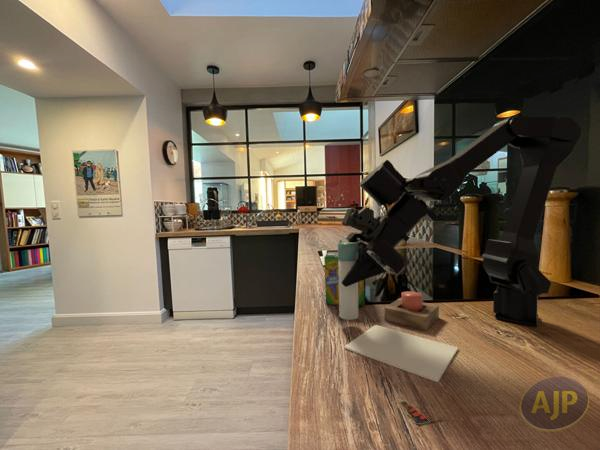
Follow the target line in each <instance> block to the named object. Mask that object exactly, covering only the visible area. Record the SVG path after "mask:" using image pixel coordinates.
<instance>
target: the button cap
mask: <svg viewBox="0 0 600 450" xmlns="http://www.w3.org/2000/svg"><path fill="white" fill-rule="evenodd" d="M400 298H401V308H402V309H407V310H411V311H416V312H421V311H422V310H423V302H424V299H423V298H424V294H422V293H421V292H417V291H408V290H407V291H402V292H401V297H400Z"/></svg>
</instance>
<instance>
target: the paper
mask: <svg viewBox="0 0 600 450" xmlns="http://www.w3.org/2000/svg"><path fill="white" fill-rule="evenodd" d="M343 348H344V349H345V350H348V351H350V352H353V353H356V354H358V355H361V356H363V357H366V358H369V359H373V360H375V361H376V362H377V361H378V362H380V363H383V364H386V365H388V366H392V367H394V368H397V369H399V370H402V371H405V372H408V373H411V374H413V375H416V376H419V377H422V378H425V379H427V380H430V381H433V382H435V383H439V381H440V380H441V378H442V376H443V374H444V373H445V372H446V370H447V368H448V367H449V365H450V363H451V361H452V360H453V358H454V357H455V355H456V353H457V352H458V350H459V348H458V346H453V345H451V344H447V343H443V342H440V341H436V340H433V339H429V338H425V337H421V336H418V335H414V334H411V333H410V334H409V333H407V332H403V331H400V330H396V329H392V328H389V327H385V326H382V325H378V324H375V325H373V326H372V327H370V328H369V329H368V330H366V331H365V332H363V333H362V334H360V335H359V336H357V337H356V338H354V339H353V340H351V341H350V342H348V343H347V344H346V345H344V347H343Z"/></svg>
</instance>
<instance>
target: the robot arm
mask: <svg viewBox="0 0 600 450" xmlns="http://www.w3.org/2000/svg"><path fill="white" fill-rule="evenodd" d="M581 133H582V128H581V126H580V124H579V123H578V122H577V121H576V120H574V119H573V118H571V117H570V116H569V117H568V116H562V117H561V116H560V117H555V116H543V117H542V116H535V117H531V116H525V115H512V116H510V117H507V118H505V119H502V120H500V121H497V122H496V123H494V125H493V126H492V128H489V130H487V131H486V132H484V133H483V134H481V136H479V137H478V138H477V139H475V140H473V141H472V142H471V143H469V144H468V145H467V146H465V148H463V149H462V150H460V151H459V152H457V154H455V155H454V156H452V157H451V158H450V159H448V160H446V161H444V162H441V163H440V164H438V165H435V166H433V167H430V168H428V169H426V170H425V171H422V172H421V173H418V174H417V175H415V176H414V177H410V178H405V177H404V176H403V175H402V174H401V173H400V172H399V171H398V170H397V169H396V168H395V167H394V165H393V164H392V162H391V161H390V160H388V159H386V160H384V161H382V162H381V163H380V164H379V165H378V166H377V167H375V168H374V169H373V170H372V171H371V172H369V173H368V174H367V175H365V177H364V178H363V179H362V180H361V181H360V182H359V186H360V187H361V188H362V189H363V190H364V191H365V193H367V194H368V196H370V197H371V198H372V199H373V200H374V202H376V204H378V206H383V205H386V206H387V207H390V206H391V207H390V208H389V209H388V210H387V211H386V212H385V213H384V214H383V215H379V216H378V215H377V216H375V212H374V210H373V209H371V208H369V207H363V208H361V209H360V210H359V209H354V208H347V210H346V212H345V214H344V217H343V219H342V222H341V224H342V225H344V226H346V227H351V228H353V229H356V230H358V231H360V232H350V233H349V234H348V236H346V237H345V239H346V240H347V242H355V243H358V259H357V261H356V262H355V264H354V265H353V266H352V268H351V269H350V271H349V272H348V273H347V275H346V276H345V278H344V279H343V281H342V284H343V285H344V286H345V287H347V286H350V285H352V284H355V283H357V282H360V281H362V280H364V281H365V280H367V279H369V278H372V277H375V276H379V275H382V274H386V273H388V272H387V270H386V269H385V268H386V267H388V268H389V269H388V270H389V272H390V273H392V274H394V275H396V276H399V275H401V273H403V271H404V270H405V269H406V268H407V259H406V258H405V257H404V256H403V255H402V254H401V253H399V252H398V251H397V249H396V248H397V247H398V245H399V244H400V243H402V242H404V243H407V242H408V241H409V240H410V236H409V234H410V232H412V231H413V229H415V228H416V226H418V224H420V223H421V221H422V220H424V221H426V222H437V221H438V214H437V207H436V206H429V205H428V204H427V203H426V202H440V201H444V200H447V199H449V198H451V197H452V196H453V195H454V194H455V192H456V191H457V190H458V189H460V187H461V186H462V185H463V184H464V181H465V179H466V177H467V176H468V175H469V174H470V173H471V172H472V171H474V170H475V169H477V168H478V167H480V165H482V164H483V163H485V162H486V161H487V160H488V159H490V158H491V157H493V156H494V155H495V154H497V153H498V152H499V151H500V150H502V149H504V148H505V147H506V146H510V147H512V148H515V149H519V155H520V156H519V157H520V158H521V161H522V163H523V168H522V171H521V174H520V178H519V180H518V183H517V187H516V190H515V193H514V197H513V199H512V203H511V206H510V209H509V212H508V216H507V219H506V222H505V226H504V228H503V231H502V233H501V235H500V236H499V237H498V238H496V239H491V238H490V239H489V238H488V239H487V241H486V242H485V248H484V252H483V253H482V255H481V256H480V258H481V259H482V267H483V268H484V271H485V273H487V275H488V278H489V281H490V283H492V284H495V285H497V286H496V290H495V291H494V292H493V306H492V307H493V308H492V309H493V311H492V312H493V313H494V314H495V315H494V318H495V319H497V320H500V321H501V320H502V321H507V322H511V323H515V324H516V323H517V324H521V325H527V326H532V327H538V326H539V325H538V324H539V314H538V303H539V302H538V300H539V296H541V295H542V294H548V293H549V291H550V288H551V285H552V282H551V281H550V280H549V278H547V276H546V275H544V274H543V272H541V270H540V269H539V268H538V264H539V263H538V262H539V258H540V255H539V252H538V250H537V247H536V244H535V238H536V234H537V230H538V226H539V224H540V220H541V218H542V215H543V212H544V209H545V205H546V202H547V199H548V196H549V193H550V189H551V187H552V184H553V180H554V177H555V174H556V171H557V169H558V168H559V166H561V165H562V163H563V162H565V161H566V159H568V158H569V157H570V156H571V155H572V153H573V151H574V149H575V148H576V146H577V144H578V142H579V140H580V138H581ZM337 278H338V279H339V275H338V277H337Z"/></svg>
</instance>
